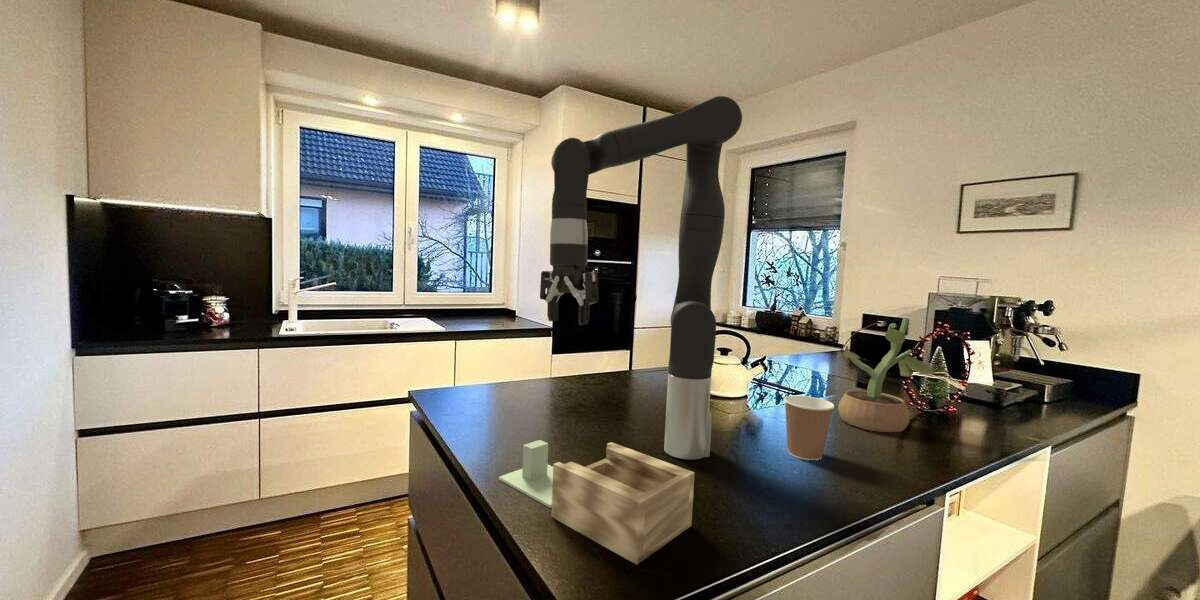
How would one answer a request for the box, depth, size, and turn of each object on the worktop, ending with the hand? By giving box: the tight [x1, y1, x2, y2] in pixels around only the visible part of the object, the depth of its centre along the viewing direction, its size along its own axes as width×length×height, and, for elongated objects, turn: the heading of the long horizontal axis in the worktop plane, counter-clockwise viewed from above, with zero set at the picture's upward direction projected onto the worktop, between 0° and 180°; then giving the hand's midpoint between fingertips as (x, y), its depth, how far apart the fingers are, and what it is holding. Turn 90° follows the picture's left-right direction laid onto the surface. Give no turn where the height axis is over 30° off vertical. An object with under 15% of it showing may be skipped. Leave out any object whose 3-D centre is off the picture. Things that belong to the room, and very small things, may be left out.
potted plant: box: [837, 318, 936, 433], centre depth 127 cm, size 22×18×30 cm
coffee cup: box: [783, 395, 835, 461], centre depth 106 cm, size 10×10×12 cm
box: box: [550, 442, 696, 565], centre depth 75 cm, size 17×14×9 cm
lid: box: [498, 439, 553, 509], centre depth 87 cm, size 14×10×7 cm
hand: (567, 322), depth 97 cm, fingers open, 8 cm apart
